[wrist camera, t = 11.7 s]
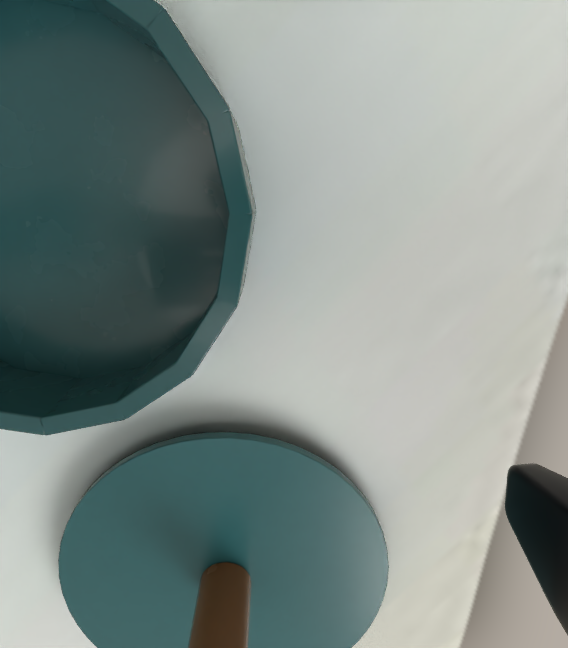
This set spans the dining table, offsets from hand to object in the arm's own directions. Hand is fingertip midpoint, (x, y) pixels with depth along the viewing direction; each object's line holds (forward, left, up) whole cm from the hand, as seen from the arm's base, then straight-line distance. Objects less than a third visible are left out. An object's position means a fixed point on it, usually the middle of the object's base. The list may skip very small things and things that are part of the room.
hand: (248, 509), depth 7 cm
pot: (-9, 0, -10) cm, 14 cm away
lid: (+5, -11, -10) cm, 16 cm away
